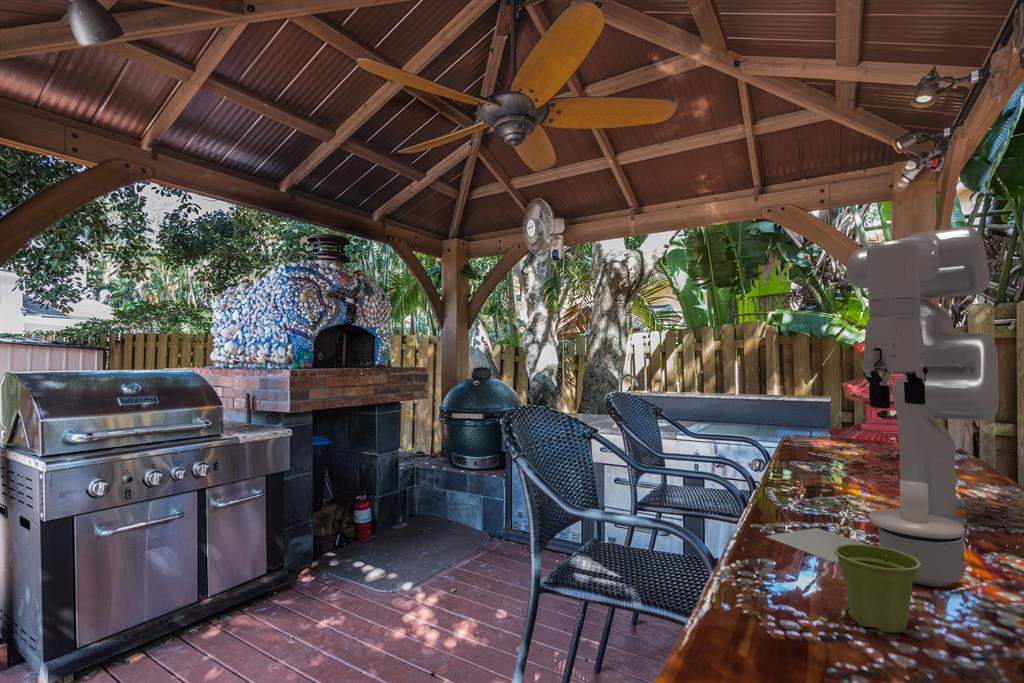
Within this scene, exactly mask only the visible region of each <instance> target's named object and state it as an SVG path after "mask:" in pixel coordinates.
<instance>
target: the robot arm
mask: <svg viewBox="0 0 1024 683" xmlns="http://www.w3.org/2000/svg"><path fill="white" fill-rule="evenodd" d="M986 252H987V251H986V247H985V243H984V240H983V238H982V236H981V235H980V233H979V231H977V230H976V228H973V227H970V226H957V227H950V228H949V227H948V228H944V229H936V230H931V231H922V232H917V233H913V234H911V235H909V236H906V237H904V238H899V239H895V240H885V241H880V242H875V243H874V244H872V245H870V246H867V247H862V248H860V249H857V250H855V251H854V252H852V253H851V254H850V255H849V258H848V260H847V264H846V275H847V279H848V281H849V283H850V284H851V285H852V286H853V287H854V288H858V289H867V298H868V299H867V301H868V303H867V306H868V319H867V320H866V321H867V322H866V325H865V326H866V327H865V333H864V334H865V335H864V346H863V347H864V349H863V350H864V351H863V357H864V358H863V359H862V360H860V365H861V369H862V371H863V376H864V377H865V379H866V382H865V383H866V384H867V385H868V396H869V397H868V398H869V407H870V408H873V409H884V410H885V409H890V408H891V390H890V389H891V386H890V385H887V384H888V382H889V381H890V378H891V376H892V375H903V376H900V377H899V378H898V379H896V380H895V381H894V383H893V385H892V398H893V402H894V407H895V412H896V413H895V414H896V418H897V426H898V427H897V428H898V444H899V445H898V447H899V449H898V450H899V452H898V454H899V476H900V478H899V481H900V480H916V481H922V482H926V483H928V504H929V514H932V515H937V516H941V517H944V518H948V519H951V520H953V521H956V522H958V523H960V524H962V525H963V526H964V527H966V526H967V524H968V520H967V518H966V517H964V516H962V515H960V514H958V510H959V509H963V508H965V507H966V505H967V503H966V501H965V500H963V499H961V498H958V499H957V481H956V479H957V477H956V454H955V453H956V451H955V450H956V448H955V440H954V437H953V436H952V435H951V433H950V432H949V431H948V430H947V429H946V428H945V427H944V426H943V425H942V424H941V423H940V422H939V421H938V420H956V421H957V420H960V421H976V422H977V421H982V422H984V421H989V420H991V419H993V418H995V416H996V415H997V412H998V410H999V402H1000V401H999V399H1000V397H999V394H1000V393H999V392H1000V391H999V358H998V357H999V356H998V355H999V354H998V349H997V345H996V342H995V341H994V339H993V338H992V337H990V336H989V335H988V334H985V333H980V332H955V333H953V331H954V328H953V327H954V319H953V318H952V317H951V316H952V315H950V314H949V313H948V312H947V311H946V310H945V309H943V308H942V307H941V306H939V305H937V304H936V303H934V302H932V301H930V300H929V299H943V298H956V297H970V296H978V295H980V294H982V293H984V292H985V291H986V290H987V289H988V286H989V283H990V270H989V265H988V259H987V253H986ZM893 509H894V510H901V509H900V506H896V507H893Z"/></svg>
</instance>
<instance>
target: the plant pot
mask: <svg viewBox="0 0 1024 683" xmlns="http://www.w3.org/2000/svg"><path fill="white" fill-rule="evenodd" d="M834 553H835V555H836V556H838V560H839V561H838V563H839V566H840V567H841V569H842V570H841V571H842V575H843V577H842V578H843V581H844V586H845V592H846V597H847V604H848V609H849V616H850V617H851V619H852V620H853V621H854V622H856V623H857V622H858V623H857V624H859V625H861V626H863V625H864V627H865V626H867V627H866V628H876V629H877V630H879V631H880V632H884V633H889V632H890V633H894V634H895V633H897V634H898V633H903V632H905V631H906V629H907V627H908V623H909V622H908V621H909V615H910V606H911V599H912V598H911V597H912V592H913V591H912V590H913V585H914V583H913V580H914V579H915V577H916V571H917V570H918V569H919V568H920V565H921V564H920V562H919V561H918V560H917V559H916V558H914V557H912V556H910V555H908V554H905V553H902V552H899V551H896V550H893V549H888V548H884V547H880V545H879V546H877V545H870V544H868V545H863V544H843V545H839V546H836V547H835V548H834Z"/></svg>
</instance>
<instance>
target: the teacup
mask: <svg viewBox="0 0 1024 683" xmlns="http://www.w3.org/2000/svg"><path fill="white" fill-rule="evenodd" d="M876 527H877V531H878V536H879V537H878V538H879V547H884V548H888V549H893V550H896V551H899V552H902V553H905V554H908V555H910V556H912V557H914V558H916V559H917V560H918V561H919V562H920V564H921V565H920V568H919V569H918V570H917V571H916V577H915V579H914V580H913V584H917V585H922V586H926V587H927V586H928V587H932V588H933V587H934V588H946V587H949V586H951V585H952V584H954V583H957V582H958V581H959V580H961V579H962V577H963V576H964V574H965V568H966V567H965V566H966V562H965V561H966V558H965V544H964V542H965V535H964V536H963V537H960V538H954V539H937V538H926V537H918V536H912V535H907V534H902V533H898V532H894V531H890V530H887V529H884V528H881V527H879V526H876Z"/></svg>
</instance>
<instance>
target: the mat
mask: <svg viewBox="0 0 1024 683" xmlns="http://www.w3.org/2000/svg"><path fill="white" fill-rule="evenodd" d="M765 538H768V539H770V540H773V541H776V542H778V543H781V544H784V545H786V546H789V547H791V548H795V549H797V550H800V551H803V552H805V553H808V554H811V555H813V556H816V557H818V558H821V559H824V560H826V561H828V562H831V563H835V562H839V560H838V556H836V555H835V553H834V548H835V547H836V546H839V545H843V544H863V545H869V543H868V544H867V543H864V542H861V541H858V540H856V539H851V538H849V537H846V536H843V535H840V534H837V533H834V532H831V531H828V530H824V529H822V528H818V527H813V528H807V529H802V530H795V531H788V532H783V533H777V534H771V535H770V534H769V535H765Z"/></svg>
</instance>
